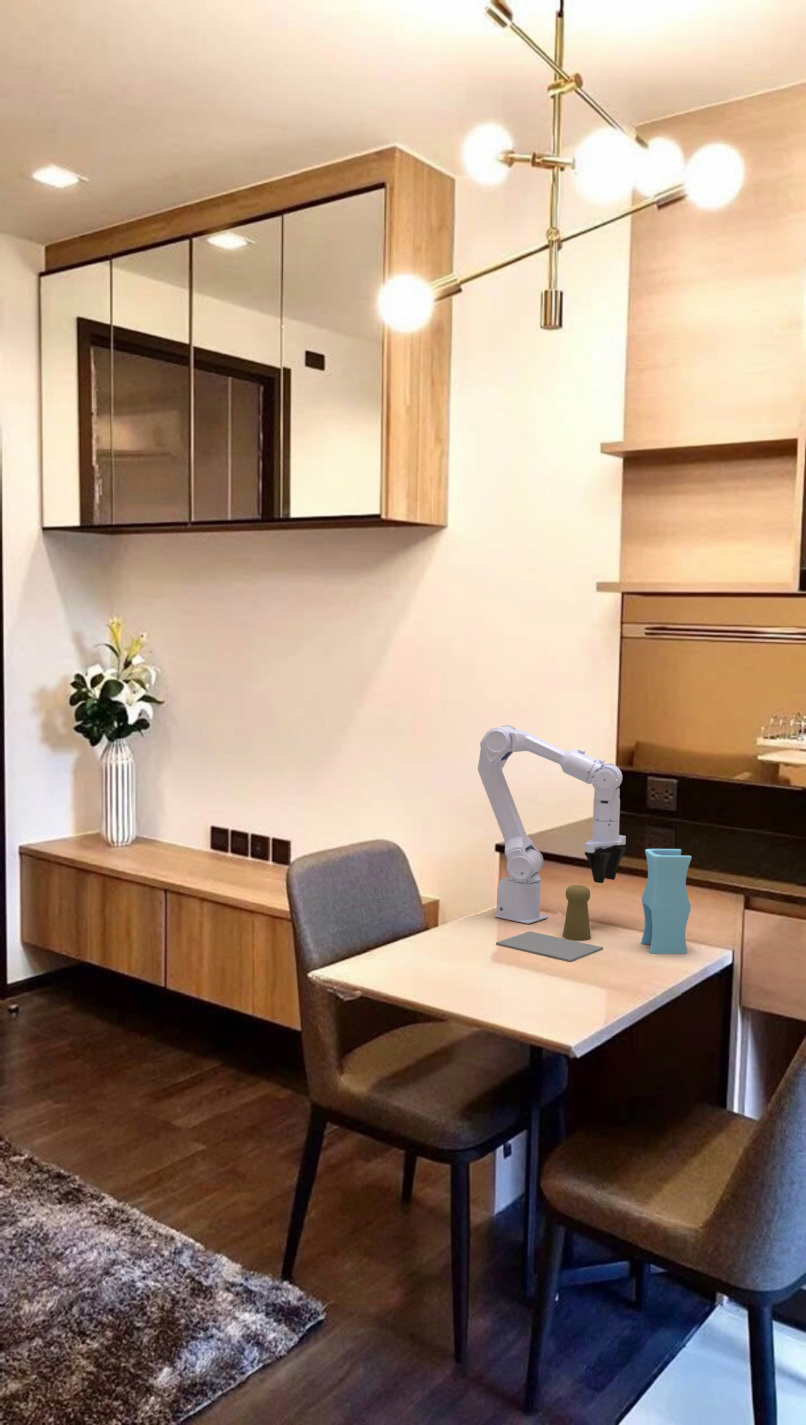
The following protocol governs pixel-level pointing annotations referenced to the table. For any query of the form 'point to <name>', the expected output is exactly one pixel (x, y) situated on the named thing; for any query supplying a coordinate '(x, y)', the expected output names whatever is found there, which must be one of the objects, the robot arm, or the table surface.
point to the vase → (666, 901)
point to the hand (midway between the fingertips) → (604, 880)
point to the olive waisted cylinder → (577, 914)
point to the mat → (550, 946)
